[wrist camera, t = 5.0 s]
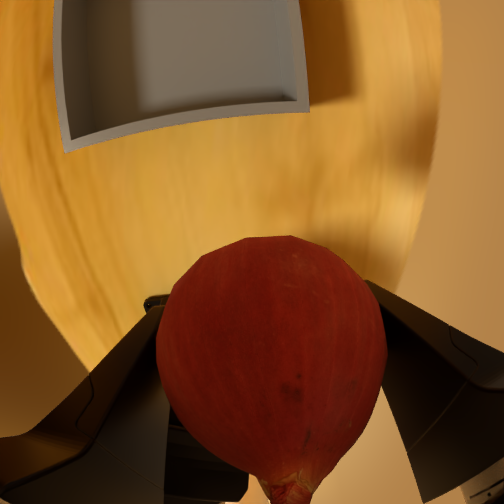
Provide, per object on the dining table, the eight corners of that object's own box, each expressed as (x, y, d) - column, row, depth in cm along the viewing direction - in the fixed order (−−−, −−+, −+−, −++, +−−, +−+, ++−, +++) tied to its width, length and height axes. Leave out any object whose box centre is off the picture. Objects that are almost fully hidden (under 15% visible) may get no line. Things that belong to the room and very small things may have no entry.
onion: (361, 231, 10) (503, 417, 3) (291, 342, 12) (334, 515, 5) (207, 169, 8) (149, 462, 1) (161, 309, 11) (126, 515, 4)
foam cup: (239, 460, 43) (245, 518, 32) (274, 465, 46) (282, 516, 35) (212, 470, 46) (214, 521, 35) (246, 475, 50) (251, 522, 38)
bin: (290, 110, 17) (309, 112, 13) (96, 141, 16) (64, 153, 12) (271, -50, 10) (283, -81, 6) (86, -16, 10) (58, -35, 6)
